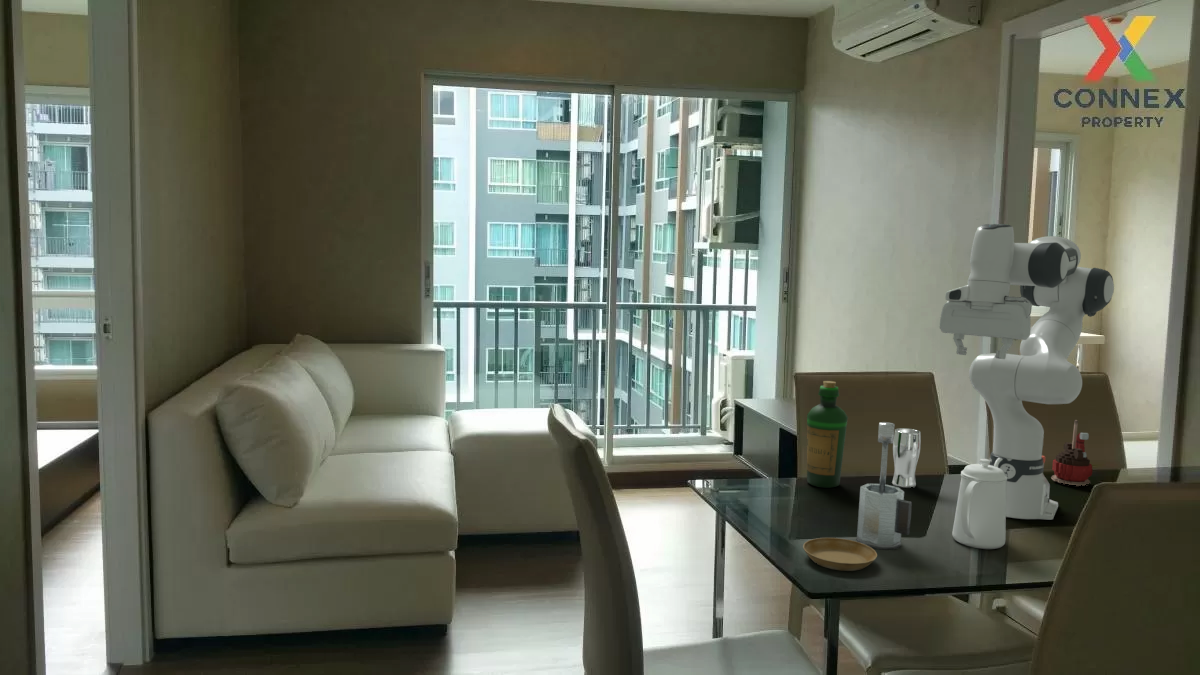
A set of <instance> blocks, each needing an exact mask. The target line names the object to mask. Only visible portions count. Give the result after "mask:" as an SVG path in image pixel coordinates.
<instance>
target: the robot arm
mask: <svg viewBox="0 0 1200 675" xmlns="http://www.w3.org/2000/svg"><path fill="white" fill-rule="evenodd" d="M969 257H970V258H969V265H970V273H969V276H968V278H967V282H966V283H967V284H966V285H963V286H960V287H957V288H953V289H951V290H948V291H945V294H944V299H945V300H946V301H947V302H945V303H944V304H943V306H942V309H941V313H940V317H939V318H940V319H939V329H940V331H941V333H944V334H950V335H951V334H953V338H952V339H953V342H954V344H955V347H956V354H957V355H961V356H966V355H967V351H968V347H965V346H964V343H963V341H964V340H965V336H975V337H985V338H986V337H987V338H988V337H989V338H998V339H1001V341H1000V342H1001V344H1002V346H1001V347H1000V349H999V350H997V349H995V352H993V353H992V352H991V353H981V354H979V355H978V356H976V357H975V358H974V359H973V361H972V362H971V364H970V366H969V370H968V378H969V382H970V384H971V386H972V387H973V389H974V390H975V391H976V392H978V394H979V395H980V396H981V397H982V398H983V400H984V401H985V403H986V404H987V406H988V408H989V411H990V413H991V416H992V421H993V440H992V442H993V444H992V451H991V452H990V456H989V460H990V463H989V465H991V466H994V464H995V461H996V460H997V459H998V458H1002V459H1003V460H1002V461H1000V463H999V465H998V468H1000V469H1001V470H1003V472H1004V474H1005V476H1006V477H1007V481H1006V518H1012V519H1020V520H1045V521H1046V520H1049V521H1050V520H1054V517H1055V515H1056V513H1057V511H1058V508H1059V502H1058V501H1055V500H1052V499H1050V488H1051V484H1050V483H1049V481H1048V479H1047V478H1046V477H1045V475H1044V471H1045V470H1044V467H1045V462H1046V456H1045V455H1043V446H1044V438H1045V437H1044V436H1045V434H1044V433H1045V430H1044V427H1043V425H1042V423H1041V422H1040V421H1039V420H1038V419H1037V418H1035V417H1034V416H1033V415H1031V414H1030V413H1028V412H1027V411H1026V408H1025V407H1024V405H1023V402H1031V403H1035V404H1036V403H1037V404H1043V405H1044V404H1045V405H1063V404H1064V405H1066V404H1071V403H1072V402H1074V401H1075V400H1076V399H1077V397H1078V396H1079V395H1080V393H1081V391H1082V388H1083V377H1082V374H1081V372H1080V370H1079V369H1078V367H1077V366H1076V365H1075V364H1073V363H1071V362H1070V361H1068V358H1069V356H1070V354H1071V353H1072V352H1073V350H1074V349H1075V347H1076V345H1077V343H1078V341H1079V339H1080V336H1081V333H1082V330H1083V318H1084V316H1086V315H1087V317H1090V318H1091V317H1094V316H1096V314H1097V312H1099V311H1102V310H1103V309H1104V308H1106V306H1108V304H1110V302H1111V301H1112V297H1113V296H1114V290H1115V284H1114V279H1113V275H1112V274H1111V273H1110V272H1109V271H1108V270H1106V269H1102V268H1098V267H1091V268H1090V267H1083V266H1079V265H1080V263H1081V260H1082V254H1081V250H1080V248H1079V246H1078V245H1077V244H1076V243H1075V241H1072V240H1070V239H1068V238H1065V237H1062V236H1058V235H1055V236H1054V235H1049V236H1048V235H1047V236H1041V237H1037V238H1034V239H1032V240H1031V241H1029V242H1015V232H1014V227H1013V226H1012V225H1010V224H1009V223H1008V224H1007V223H1006V224H1005V223H993V224H992V223H991V224H990V223H987V224H982V225H980V226H978V227H977V229H976V231H975V233H974V237H973V240H972V245H971V250H970V256H969ZM1011 285H1012V286H1019V291H1020V292H1019V293H1020V297H1019V296H1011V295H1010V291H1011V290H1010V289H1011ZM1033 306H1034V307H1046V308H1049V310H1048V311H1047V312H1045V313H1044V314H1043V315H1041V316H1040V317H1039V318H1038V320H1036V321H1035V323H1034V324H1033V325H1032V324H1031V322H1032V321H1031V314H1032V309H1033ZM1031 326H1032V327H1031ZM1013 340H1021V342H1020V345H1019V353H1020V354H1013V353H1007V352H1008V351H1009V349H1010V348H1011V346H1012V345H1013V343H1014V341H1013Z"/></svg>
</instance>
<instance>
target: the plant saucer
mask: <svg viewBox="0 0 1200 675" xmlns="http://www.w3.org/2000/svg"><path fill="white" fill-rule="evenodd" d="M802 549H803V550H804V552H805V554H807V556H808V557H809V558H810V559H811V560H812V561H813V562H814V563H815V564H816V563H817V565H819V566H820V567H824V568H827V569H830V570H835V571H842V572H843V571H844V572H845V571H847V572H853V571H859V570H863V569H865V568H866V567H868V566H869V565H871V564H872V563H874V561H875V560H876V559H877V557H878V553H877V551H876V550H875V549H874V548H871V547H869V546H867V545H865V544H862V543H859V542H857V540H852V539H851V540H850V539H846V538H840V537H839V538H838V537H818V538H813V539H809V540H806V541H805V542H804V543H803V545H802Z"/></svg>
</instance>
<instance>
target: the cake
mask: <svg viewBox="0 0 1200 675" xmlns="http://www.w3.org/2000/svg"><path fill="white" fill-rule="evenodd" d="M1078 424H1079V420H1077V419H1074V424H1073V433H1072V442H1064V444H1063V451H1061V452H1059V453H1058V454H1056V456H1055V459H1053V460H1052V468H1051V469H1052V471H1053V473H1054V474H1053V475H1051V477H1050V478H1051V480H1052V481H1053V482H1057V483H1059V484H1061V483H1063V484H1062V485H1065V484H1069V485H1076V486H1075V487H1079V486H1080V487H1082V486H1085V485H1086V484H1089V483H1090V484H1091V480H1089V477H1092V475H1093V465H1092V464H1091V463H1090V459H1089V458H1088V456H1087V452H1086V451H1085V449H1086V447H1085V441H1087V440H1089V436H1090V435H1089V433H1088V432H1079V433H1078V427H1079V426H1078ZM1069 485H1068V486H1069ZM1081 485H1082V486H1081ZM1086 486H1087V485H1086Z"/></svg>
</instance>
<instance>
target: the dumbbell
mask: <svg viewBox="0 0 1200 675" xmlns="http://www.w3.org/2000/svg"><path fill="white" fill-rule="evenodd" d="M877 433H878V434H877V442H878V443H881V445H882V446H881V459H880V460H881V461H880V472H879V474H880V475H879V484H880V486H879V493H885V484H886V482H887V481H886V480H887V470H888V469H887V468H888V453H889V452H888V451H889V445H890V444H893V442H894V435H895V423H893V422H887V421H882V422H879V423H878V432H877Z"/></svg>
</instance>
